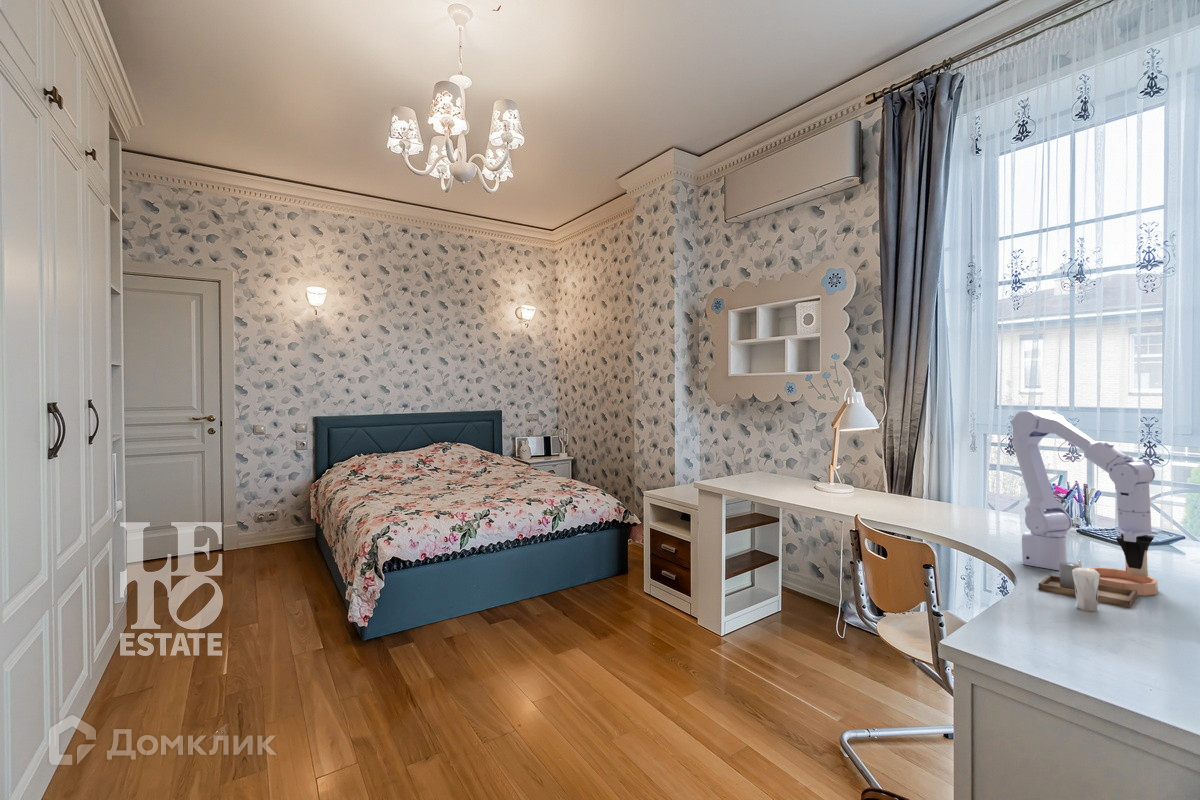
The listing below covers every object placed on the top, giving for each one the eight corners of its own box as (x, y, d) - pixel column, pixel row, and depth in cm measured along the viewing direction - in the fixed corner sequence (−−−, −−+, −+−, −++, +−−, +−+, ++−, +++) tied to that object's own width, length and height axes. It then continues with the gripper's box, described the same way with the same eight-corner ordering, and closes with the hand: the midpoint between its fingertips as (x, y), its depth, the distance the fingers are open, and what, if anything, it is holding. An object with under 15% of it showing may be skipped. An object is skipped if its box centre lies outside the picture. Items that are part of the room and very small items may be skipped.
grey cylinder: (1058, 588, 129) (1057, 564, 129) (1062, 585, 131) (1061, 561, 131) (1078, 592, 126) (1077, 567, 126) (1082, 588, 128) (1081, 564, 128)
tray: (1038, 589, 129) (1038, 583, 129) (1049, 580, 135) (1049, 574, 135) (1129, 607, 117) (1129, 601, 117) (1137, 597, 123) (1136, 590, 123)
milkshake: (1094, 605, 119) (1092, 561, 119) (1105, 614, 114) (1103, 568, 114) (1068, 602, 121) (1066, 559, 121) (1078, 611, 116) (1076, 566, 116)
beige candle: (1125, 574, 128) (1123, 549, 128) (1126, 570, 130) (1125, 546, 130) (1147, 577, 125) (1146, 552, 125) (1148, 574, 127) (1147, 549, 128)
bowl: (1078, 585, 131) (1077, 575, 131) (1089, 574, 139) (1089, 564, 139) (1152, 599, 121) (1152, 588, 121) (1160, 586, 129) (1160, 576, 129)
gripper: (1152, 517, 120) (1155, 576, 120) (1161, 508, 129) (1164, 563, 129) (1110, 513, 126) (1113, 569, 126) (1121, 505, 135) (1124, 557, 134)
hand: (1136, 566), depth 128 cm, fingers closed on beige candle, 4 cm apart
